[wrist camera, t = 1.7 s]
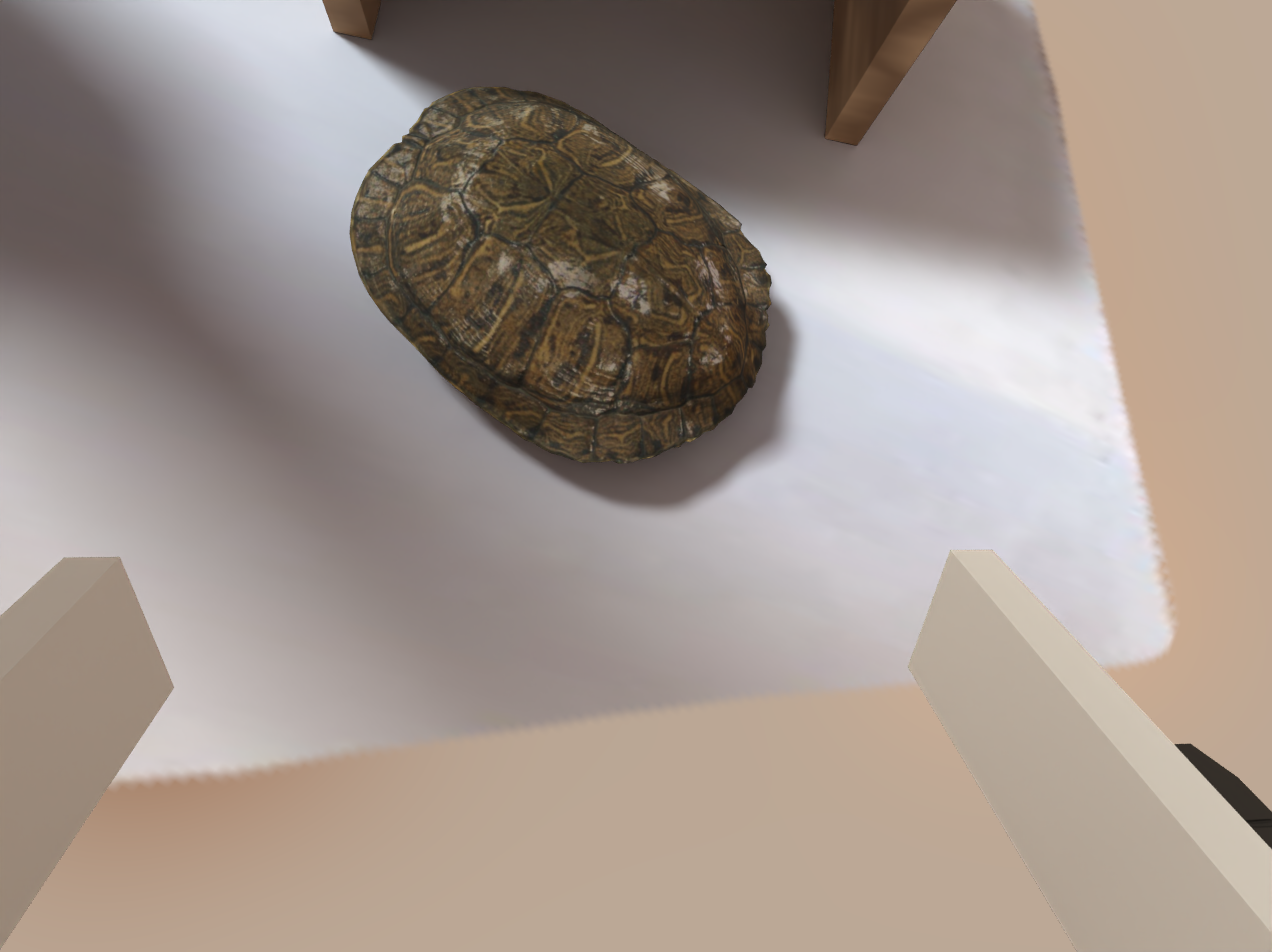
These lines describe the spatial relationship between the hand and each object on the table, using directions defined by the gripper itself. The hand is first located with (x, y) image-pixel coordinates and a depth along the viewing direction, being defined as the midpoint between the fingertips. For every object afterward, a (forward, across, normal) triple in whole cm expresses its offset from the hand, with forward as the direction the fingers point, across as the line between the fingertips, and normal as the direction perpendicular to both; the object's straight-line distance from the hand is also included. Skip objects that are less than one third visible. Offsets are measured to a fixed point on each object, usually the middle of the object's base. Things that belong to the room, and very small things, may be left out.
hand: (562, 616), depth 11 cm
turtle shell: (+26, 0, -2) cm, 26 cm away
